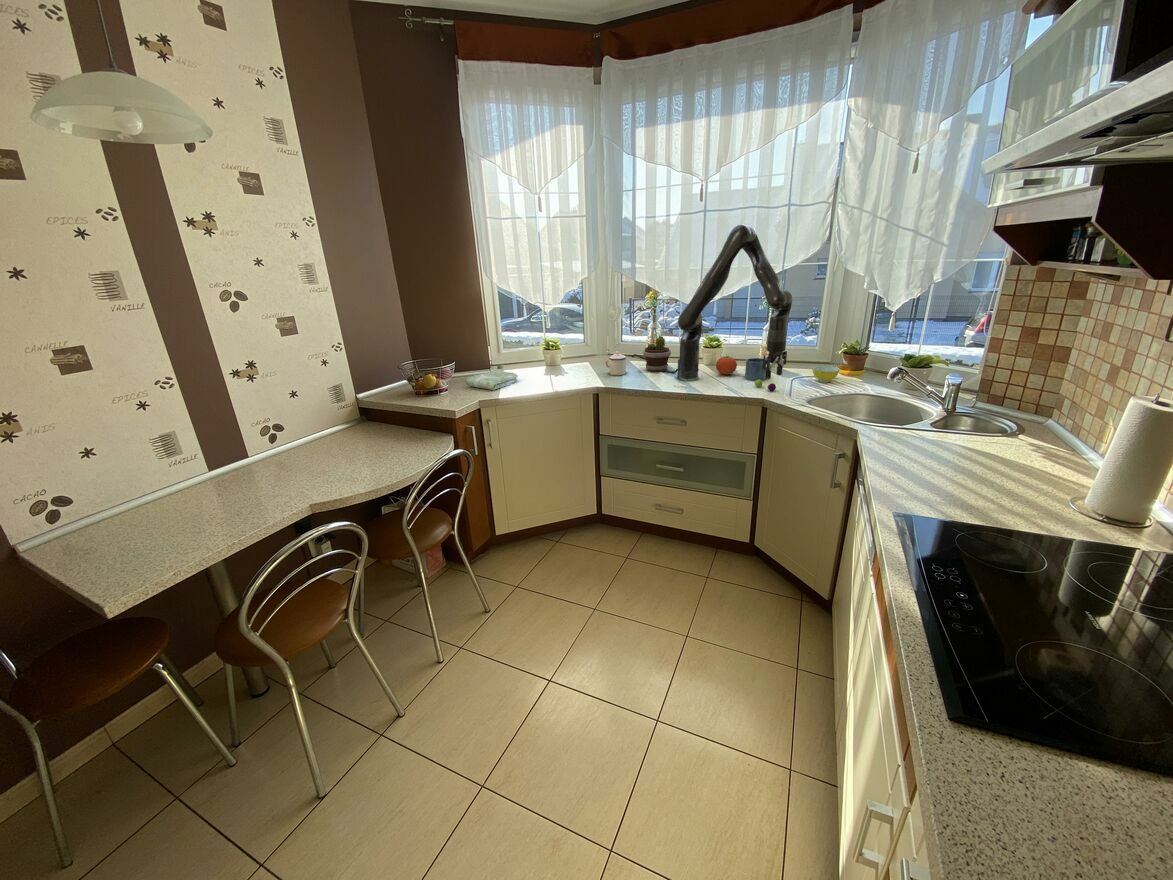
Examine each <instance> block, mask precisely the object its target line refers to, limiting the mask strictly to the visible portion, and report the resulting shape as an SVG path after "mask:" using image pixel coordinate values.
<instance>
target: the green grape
mask: <svg viewBox="0 0 1173 880" xmlns="http://www.w3.org/2000/svg"><path fill="white" fill-rule="evenodd" d="M763 384H764V382H763V380H756V381H754V385H755V387H756V388H761V387H762V386H763Z"/></svg>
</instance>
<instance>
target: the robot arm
mask: <svg viewBox="0 0 1173 880" xmlns="http://www.w3.org/2000/svg"><path fill="white" fill-rule="evenodd" d="M742 250H743V251H744V252H745V254H746V255H747V256H748V258H749V260H750V262H751V266H752V269H753V272H754V275H755V278H756V279H757V281H758V283H759V284H760V286H761V288H762V290H763V293H764V296H765V299H766V303H767V304H768V306H769V307H771V309H773V310H774V312H773V314H772V315H771V316H770V318H769V324H768V332H767V340H766V351H767V352H768V354H765V355H763V358H762V359H763V368H762V369H765V370H766V374H765V380H771V378H772V369H773V368H774V367H775V365H776V376H782V375H783V367H784V366H785V365H787V359H788V358H787V357H788V351H787V350H786V347H787V335H788V318H789V315H790V312H791V309H792V306H793V295H792V293H791V292H790V291H789V290H785V289H780V286H779V285H780V278H779V276H778V274H777V273H776V271H775V269H774V268H773V266H772V265H771V262H770V261H769V259H768V257H767V255H766V254H765V251H764V249H763V246H762V245H761V241H760V239H759V236H758V233H757V231H756V229H755V228H754V226H751V225H749V224H743V223H739V224H736V225H735V226H733V227H732V228H731V230H730V231H729V233H728V235H727V237H726V239H725V241H724V243H723V245H722V247H721V249H720V251H719V252H718V254H717V256H716V258H714V259H715V260H714V261H713V263H712V264H711V266H710V268H709V269H708V271H707V272H706V274H705V276H704V277H703V279H702V281H701V282H700V284H699V285H698V287H697V289H696V291H695V292H694V294H693V296H692V298H691V299H690V301H689V303H688V304H687V305H686V306H685V308H684V309H683V310H682V311H681V313H680V315H679V316H678V319H677V326H678V328H679V329H680V330H682V331H683V333H682V335H681V337H680V339H679V359H678V360H677V368H676V369H675V370H667V369H666V370H662V371H661V372H663V373H667V374H668V373H669V374H676V373H677V379H679V380H680V381H687V382H688V381H689V382H692V381H697V380H698V379H699V371H700V370H699V363H700V342H701V341H700V340H701V338H702V332H703V331H702V330H703V316H702V313H703V311H704V309H705V308H706V307H707V306H708V305H709V304H710V302H712V301H713V300H714V299H715V297H716V296H717V295H719V293H720V291H721V290H722V288H723V287H724V285H725V284H726V282H727V280H728V278H729V275H730V272H731V267H732V265H733V263H734V260H735V259H736V257H737V255H738V254H739V253H740V251H742ZM633 355H634V356H633ZM633 357H638V358H640V359H644V360H646V359H645V356H643V355H642V356H641V355H639V354H637V353H633V354H632V355H631V358H633ZM765 364H767V365H766V367H765Z"/></svg>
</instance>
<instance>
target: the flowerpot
mask: <svg viewBox="0 0 1173 880" xmlns="http://www.w3.org/2000/svg"><path fill="white" fill-rule="evenodd" d="M666 343H667V339H666V338H665V337H664V335H662V334H661V335H658V336H657V337H655V339H654V342H649V343H648V344H647V347H645V348H644V350H643V352H642V356H643V357H645V359H644V360H645V363H646V364H645V368H646V369H647V371H649V372H651V373H652V372H653V373H660V372H663V371H662V370H667V369H668V367H669V363H668V362H669V358H670V356H671V354H672V351H671V350H670V348H669V347H668V346H667V347H666Z"/></svg>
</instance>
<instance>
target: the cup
mask: <svg viewBox="0 0 1173 880" xmlns="http://www.w3.org/2000/svg"><path fill="white" fill-rule="evenodd" d="M763 359H764V358H761V357H750V358H746V359H745V371H744V380H747V381H753V382H755V381H756V380H762V381H764V380H766V378H765V374H766V370H765V369H762V368H763ZM766 365H767V364H765V367H766Z"/></svg>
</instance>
